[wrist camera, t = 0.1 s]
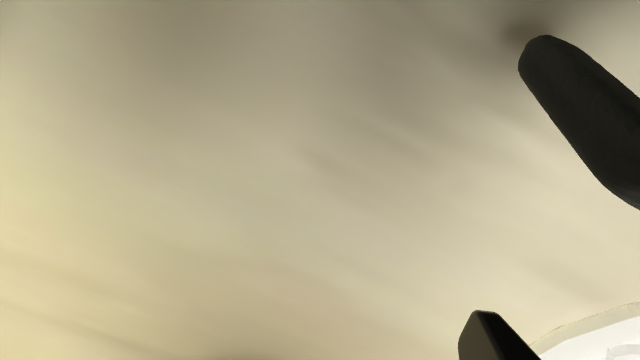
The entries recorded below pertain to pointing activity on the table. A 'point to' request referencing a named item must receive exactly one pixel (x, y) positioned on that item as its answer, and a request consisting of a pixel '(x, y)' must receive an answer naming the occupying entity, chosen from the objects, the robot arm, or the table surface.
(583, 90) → the milk frother
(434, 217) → the table surface
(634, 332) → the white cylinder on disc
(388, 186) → the table surface
